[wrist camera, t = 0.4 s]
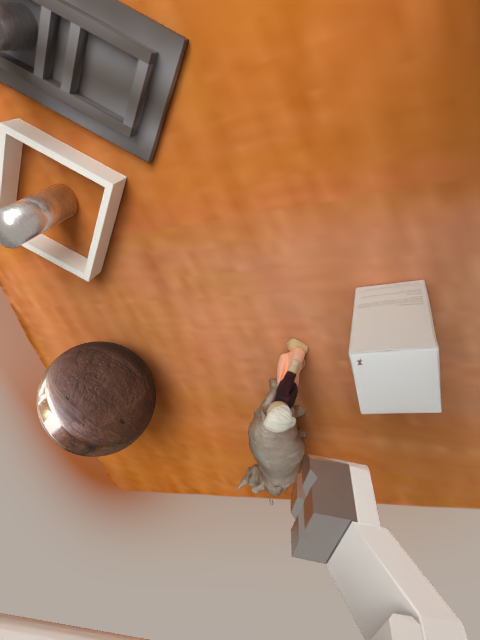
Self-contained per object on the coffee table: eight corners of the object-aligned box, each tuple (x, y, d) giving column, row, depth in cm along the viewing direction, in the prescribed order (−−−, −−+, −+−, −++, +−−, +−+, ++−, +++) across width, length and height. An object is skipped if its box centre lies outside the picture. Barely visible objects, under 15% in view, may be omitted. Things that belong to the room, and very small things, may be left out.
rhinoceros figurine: (327, 389, 54) (286, 514, 49) (320, 410, 67) (287, 511, 62) (267, 368, 56) (222, 487, 51) (271, 392, 68) (236, 489, 64)
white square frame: (18, 118, 49) (-1, 122, 47) (126, 177, 49) (113, 184, 47) (8, 221, 57) (-9, 229, 55) (101, 271, 57) (88, 281, 55)
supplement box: (363, 341, 52) (357, 415, 42) (354, 285, 49) (346, 352, 38) (431, 337, 49) (443, 415, 39) (427, 277, 46) (439, 346, 36)
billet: (51, 177, 52) (-12, 203, 44) (81, 194, 52) (24, 223, 44) (46, 206, 54) (-14, 236, 46) (75, 222, 54) (20, 254, 46)
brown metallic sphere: (92, 302, 60) (17, 368, 48) (187, 356, 61) (137, 436, 49) (70, 370, 69) (3, 442, 57) (154, 417, 70) (105, 498, 57)
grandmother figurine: (279, 330, 54) (254, 398, 44) (310, 333, 53) (292, 403, 43) (281, 379, 58) (259, 452, 48) (310, 382, 57) (294, 457, 47)
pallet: (-25, -79, 40) (-47, -85, 38) (188, 39, 40) (178, 39, 38) (-30, 60, 47) (-49, 61, 45) (152, 160, 47) (141, 165, 45)
